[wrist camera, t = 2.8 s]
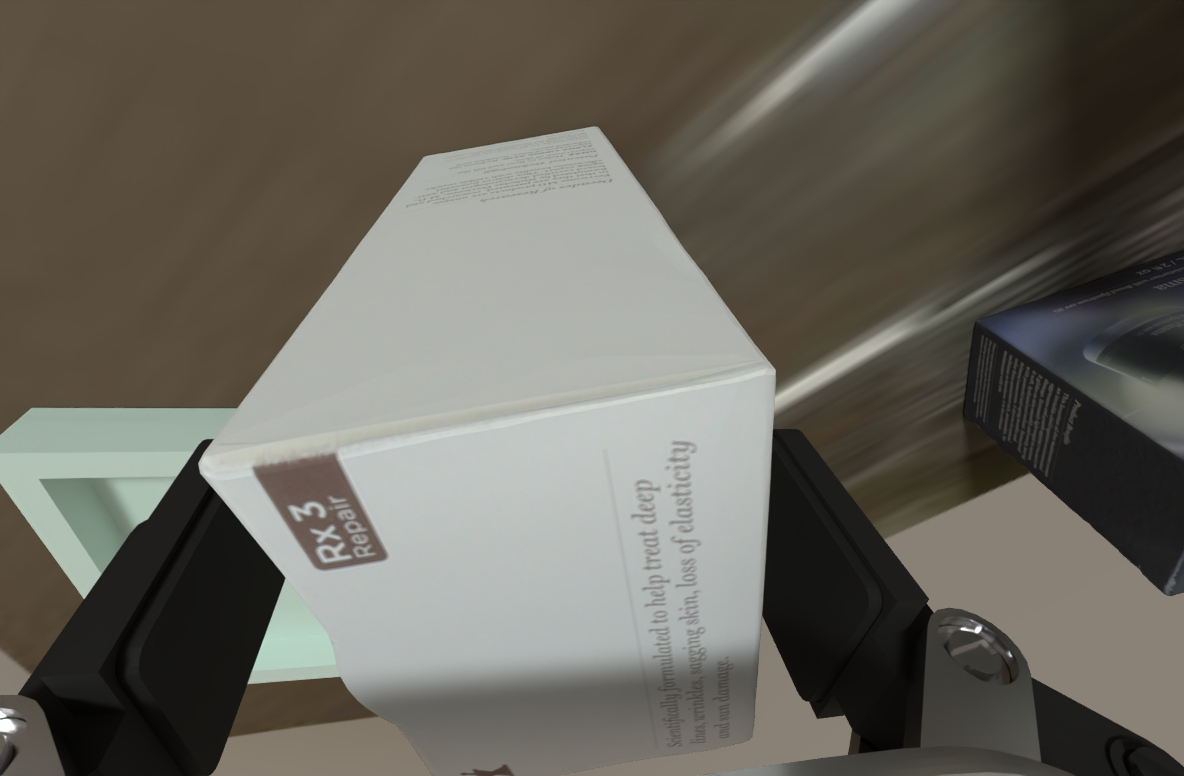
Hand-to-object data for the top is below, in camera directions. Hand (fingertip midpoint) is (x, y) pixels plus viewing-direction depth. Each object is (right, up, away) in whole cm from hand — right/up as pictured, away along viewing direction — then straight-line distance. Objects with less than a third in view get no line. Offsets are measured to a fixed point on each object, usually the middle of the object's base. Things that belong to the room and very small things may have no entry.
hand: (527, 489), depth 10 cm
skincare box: (-1, +7, +9) cm, 11 cm away
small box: (+24, +5, +15) cm, 28 cm away
